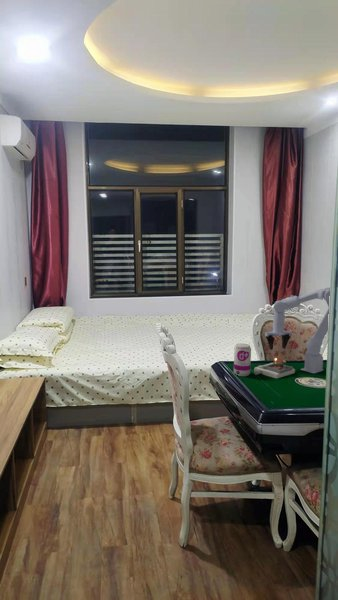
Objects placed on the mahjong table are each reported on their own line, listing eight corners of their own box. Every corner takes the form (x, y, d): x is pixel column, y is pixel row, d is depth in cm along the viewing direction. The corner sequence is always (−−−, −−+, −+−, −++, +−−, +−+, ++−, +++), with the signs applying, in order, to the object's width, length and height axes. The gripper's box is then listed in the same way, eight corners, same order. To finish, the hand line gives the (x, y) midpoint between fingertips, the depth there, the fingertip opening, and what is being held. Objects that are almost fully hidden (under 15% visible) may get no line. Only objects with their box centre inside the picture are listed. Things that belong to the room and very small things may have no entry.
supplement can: (249, 377, 209) (251, 347, 207) (233, 376, 211) (234, 346, 209) (250, 372, 217) (251, 343, 215) (233, 371, 219) (235, 342, 217)
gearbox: (272, 366, 228) (272, 360, 228) (294, 372, 217) (295, 366, 217) (249, 372, 216) (249, 366, 216) (271, 380, 205) (271, 373, 205)
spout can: (276, 367, 220) (277, 356, 219) (287, 370, 215) (288, 358, 214) (271, 369, 216) (271, 357, 215) (282, 372, 211) (282, 360, 211)
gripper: (270, 325, 216) (269, 351, 218) (295, 324, 220) (293, 349, 222) (263, 323, 223) (262, 348, 225) (287, 321, 227) (286, 346, 229)
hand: (277, 348), depth 224 cm, fingers open, 7 cm apart
